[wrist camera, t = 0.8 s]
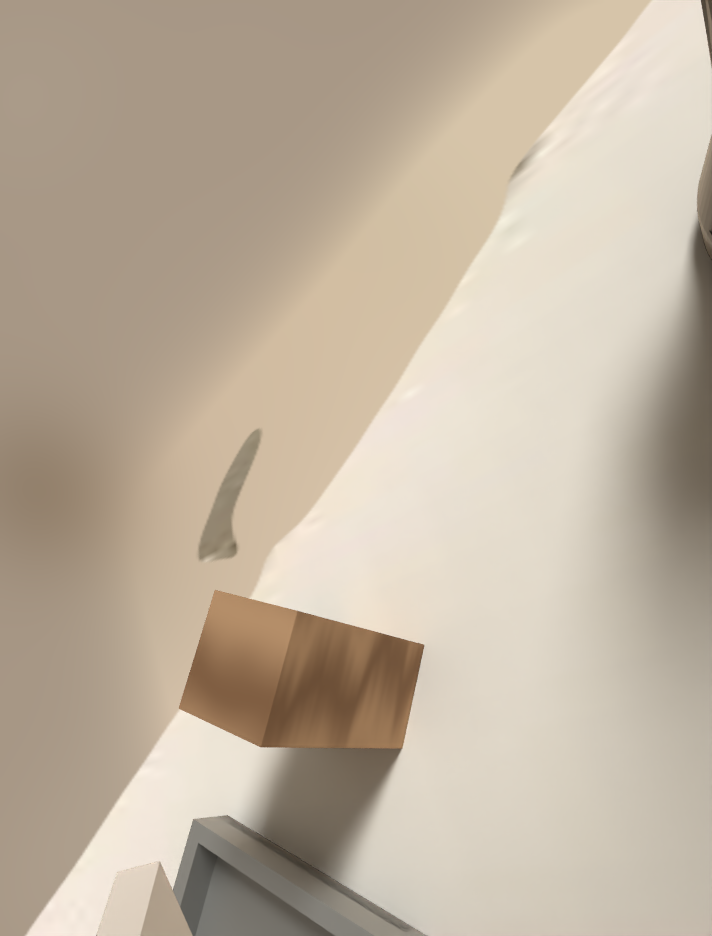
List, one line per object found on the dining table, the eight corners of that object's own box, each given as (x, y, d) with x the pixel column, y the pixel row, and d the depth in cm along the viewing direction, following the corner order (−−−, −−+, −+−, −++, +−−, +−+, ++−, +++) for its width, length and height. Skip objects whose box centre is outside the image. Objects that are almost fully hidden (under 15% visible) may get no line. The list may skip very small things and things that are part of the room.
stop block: (348, 625, 41) (214, 589, 32) (424, 644, 37) (297, 611, 28) (325, 718, 39) (178, 708, 30) (402, 748, 36) (260, 747, 27)
